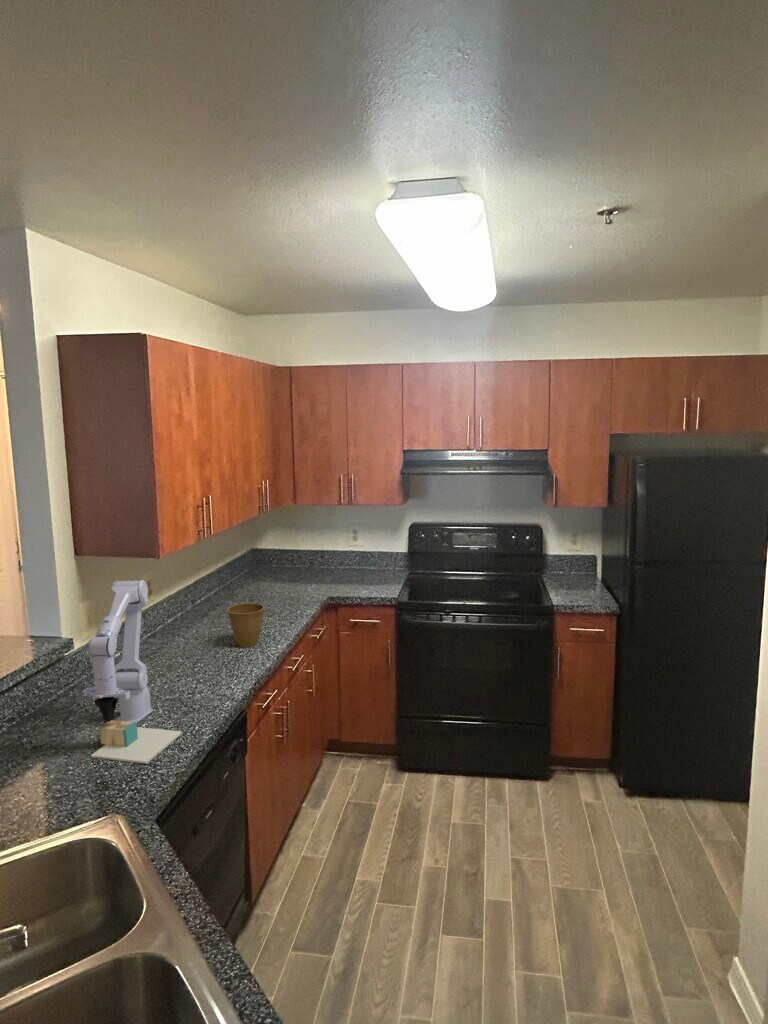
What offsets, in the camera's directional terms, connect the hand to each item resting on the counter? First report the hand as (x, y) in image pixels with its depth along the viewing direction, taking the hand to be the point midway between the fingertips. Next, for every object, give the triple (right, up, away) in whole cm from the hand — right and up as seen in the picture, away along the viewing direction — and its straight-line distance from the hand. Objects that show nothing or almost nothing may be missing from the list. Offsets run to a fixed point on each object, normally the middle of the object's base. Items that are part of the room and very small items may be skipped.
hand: (109, 720), depth 194 cm
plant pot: (+24, +5, +83) cm, 86 cm away
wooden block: (-1, -4, +1) cm, 4 cm away
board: (+9, -7, -1) cm, 11 cm away
